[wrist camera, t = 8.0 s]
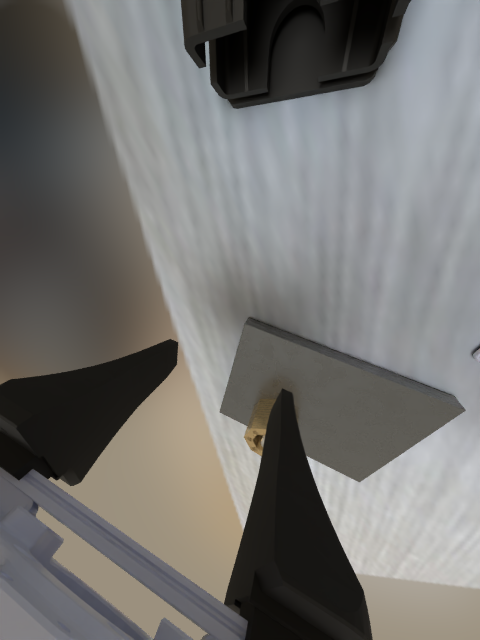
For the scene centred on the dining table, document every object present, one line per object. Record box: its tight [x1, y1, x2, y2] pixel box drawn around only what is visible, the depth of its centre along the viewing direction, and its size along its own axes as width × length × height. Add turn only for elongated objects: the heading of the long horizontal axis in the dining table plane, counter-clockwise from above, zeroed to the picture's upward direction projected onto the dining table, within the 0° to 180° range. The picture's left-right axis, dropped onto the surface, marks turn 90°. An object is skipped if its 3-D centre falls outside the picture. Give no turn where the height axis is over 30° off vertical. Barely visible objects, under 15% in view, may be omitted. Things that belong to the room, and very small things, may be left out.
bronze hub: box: [244, 399, 298, 456], centre depth 22 cm, size 5×5×4 cm
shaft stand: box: [220, 318, 466, 482], centre depth 20 cm, size 20×16×6 cm
